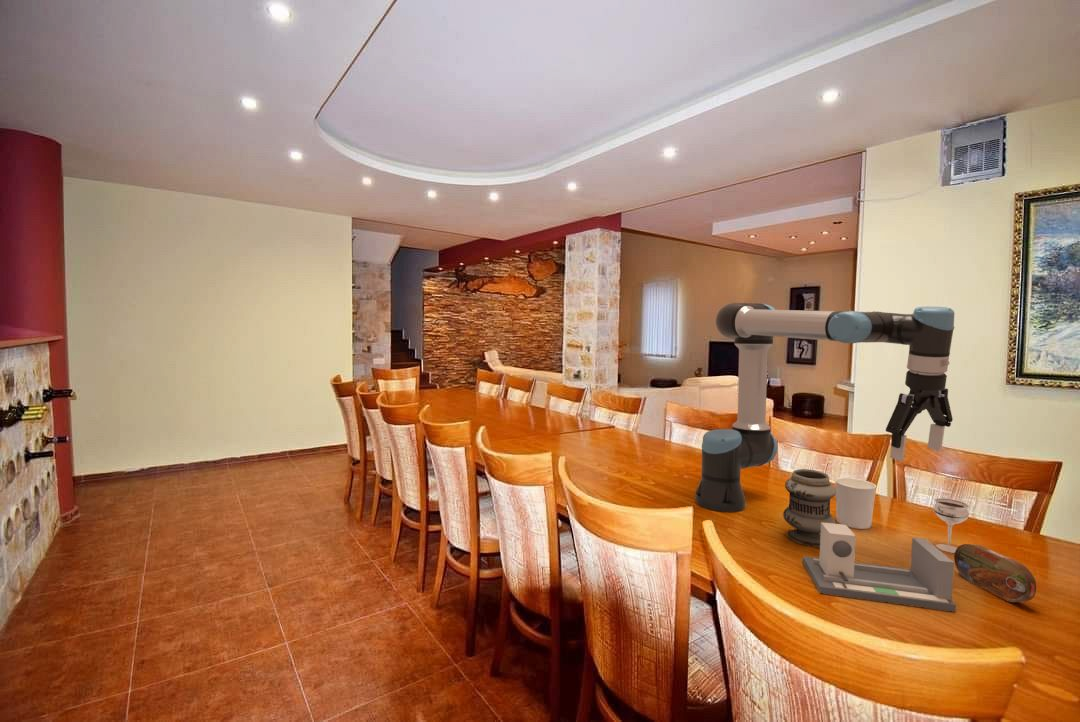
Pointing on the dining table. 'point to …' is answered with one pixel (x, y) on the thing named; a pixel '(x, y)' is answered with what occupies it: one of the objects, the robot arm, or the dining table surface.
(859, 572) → the gauge bed
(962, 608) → the dining table surface
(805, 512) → the apothecary jar
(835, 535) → the gauge carriage
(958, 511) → the wineglass
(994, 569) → the tin
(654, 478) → the dining table surface
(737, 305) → the robot arm
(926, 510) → the dining table surface
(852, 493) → the candle holder
